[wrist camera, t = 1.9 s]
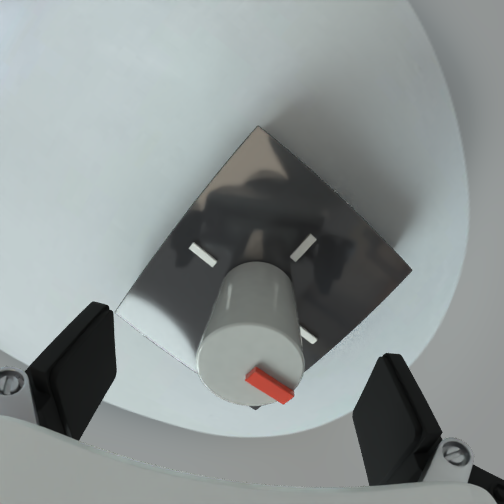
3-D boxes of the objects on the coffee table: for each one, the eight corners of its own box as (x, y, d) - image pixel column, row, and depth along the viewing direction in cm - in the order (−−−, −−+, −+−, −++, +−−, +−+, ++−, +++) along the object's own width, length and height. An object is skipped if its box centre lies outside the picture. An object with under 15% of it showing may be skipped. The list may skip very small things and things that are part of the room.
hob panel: (260, 129, 16) (257, 124, 13) (393, 251, 17) (414, 271, 14) (134, 289, 19) (113, 314, 16) (257, 379, 21) (255, 412, 18)
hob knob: (204, 299, 15) (172, 375, 10) (252, 245, 14) (240, 305, 9) (261, 341, 16) (255, 426, 11) (310, 293, 15) (328, 370, 10)
